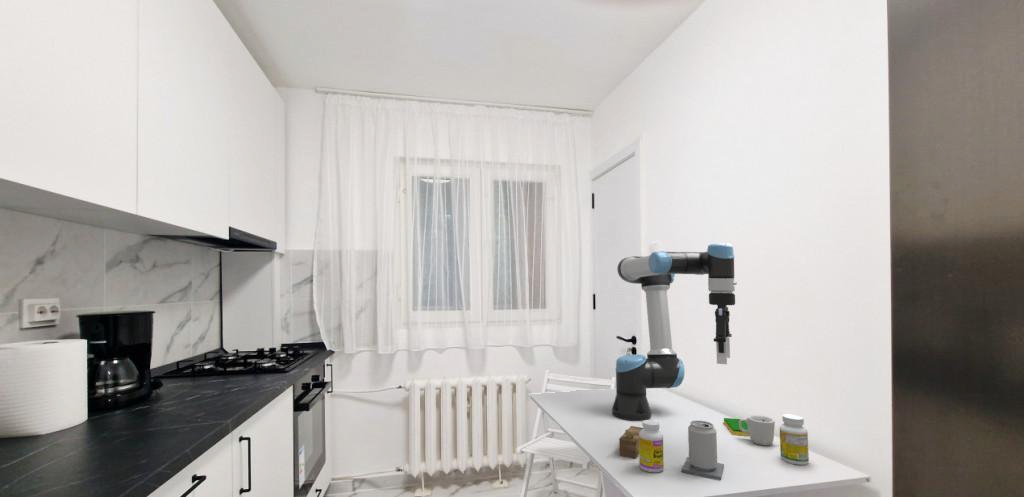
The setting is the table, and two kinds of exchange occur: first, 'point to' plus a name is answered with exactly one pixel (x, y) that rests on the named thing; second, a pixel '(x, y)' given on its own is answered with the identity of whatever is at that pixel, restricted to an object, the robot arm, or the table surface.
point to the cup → (759, 429)
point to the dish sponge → (735, 426)
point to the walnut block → (630, 442)
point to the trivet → (710, 474)
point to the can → (702, 445)
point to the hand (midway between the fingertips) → (723, 360)
